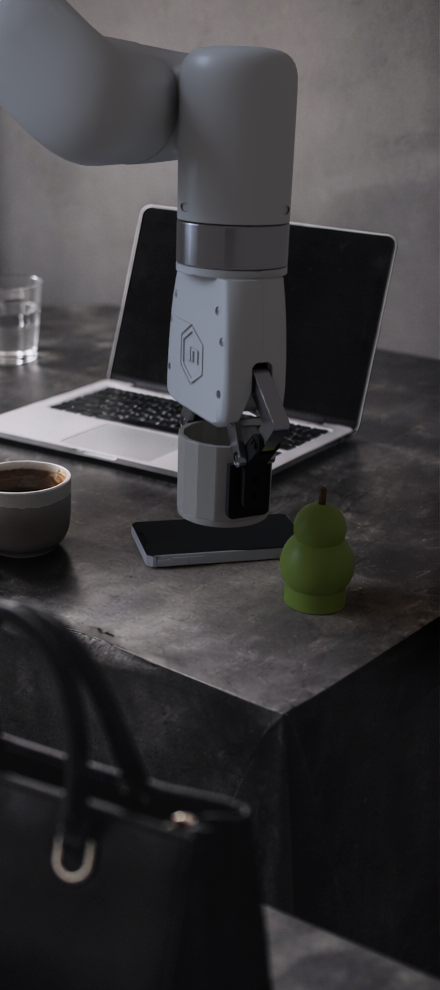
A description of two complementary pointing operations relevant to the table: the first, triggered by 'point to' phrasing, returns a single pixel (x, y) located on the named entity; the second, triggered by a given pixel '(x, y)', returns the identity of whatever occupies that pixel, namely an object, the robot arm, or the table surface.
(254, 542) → the smartphone
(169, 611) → the table surface
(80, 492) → the table surface
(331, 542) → the pear
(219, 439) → the grey faceted cup
